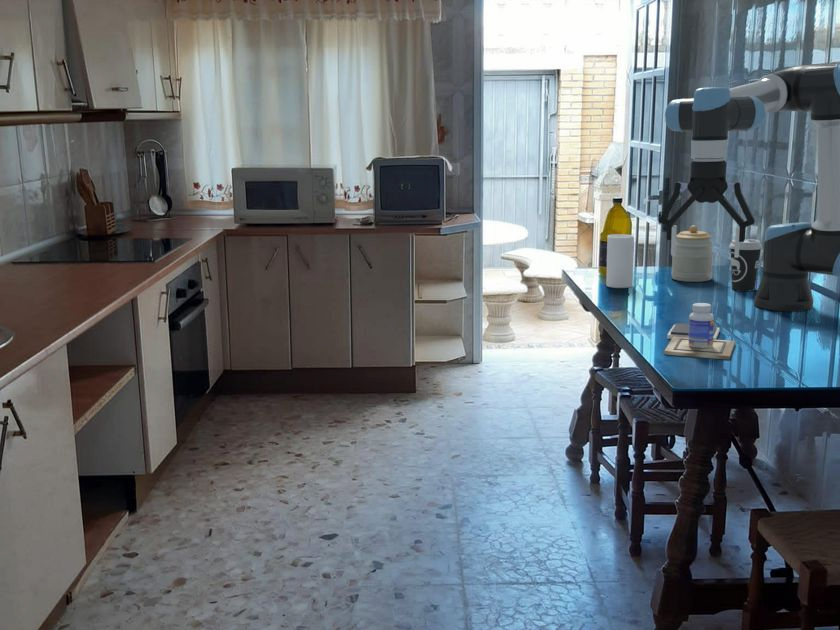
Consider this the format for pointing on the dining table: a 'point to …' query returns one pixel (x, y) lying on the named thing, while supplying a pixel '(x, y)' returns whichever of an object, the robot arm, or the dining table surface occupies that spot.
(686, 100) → the robot arm
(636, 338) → the dining table surface
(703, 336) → the pill bottle
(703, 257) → the jar
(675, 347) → the marked board
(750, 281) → the coffee cup
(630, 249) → the cup
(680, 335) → the ink pad
